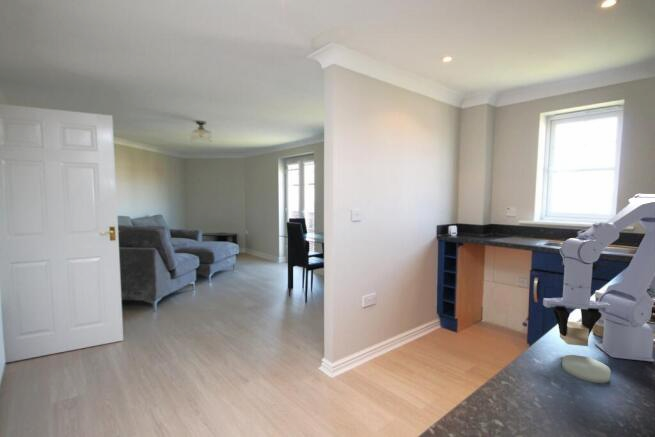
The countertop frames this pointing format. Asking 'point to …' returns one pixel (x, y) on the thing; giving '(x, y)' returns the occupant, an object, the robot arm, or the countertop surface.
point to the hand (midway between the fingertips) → (573, 335)
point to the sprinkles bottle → (599, 324)
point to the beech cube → (576, 334)
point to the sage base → (586, 368)
